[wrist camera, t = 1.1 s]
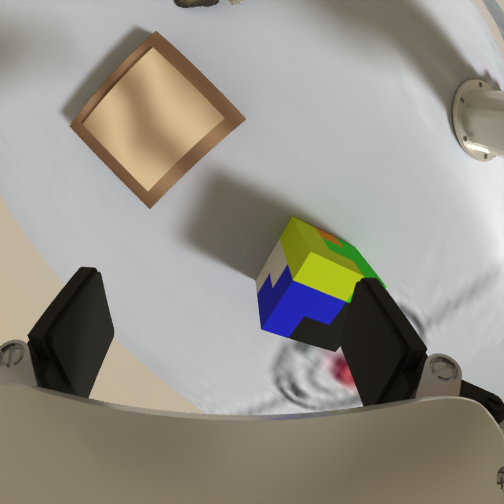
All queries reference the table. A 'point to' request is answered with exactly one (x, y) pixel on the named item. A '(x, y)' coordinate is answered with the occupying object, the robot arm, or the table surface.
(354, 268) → the puzzle toy
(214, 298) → the table surface
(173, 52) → the walnut tray
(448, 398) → the robot arm
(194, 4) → the eagle figurine
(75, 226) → the table surface
